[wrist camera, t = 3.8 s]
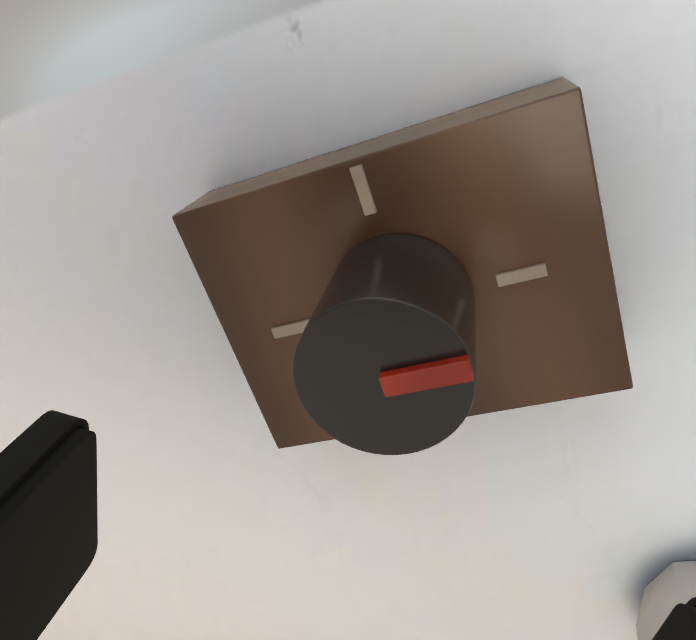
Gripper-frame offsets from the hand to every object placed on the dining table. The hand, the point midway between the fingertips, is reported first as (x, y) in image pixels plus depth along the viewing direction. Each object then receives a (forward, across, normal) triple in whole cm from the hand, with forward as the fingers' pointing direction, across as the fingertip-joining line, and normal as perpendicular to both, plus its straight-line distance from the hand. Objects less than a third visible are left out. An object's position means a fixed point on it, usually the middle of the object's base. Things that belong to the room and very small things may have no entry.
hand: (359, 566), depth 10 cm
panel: (+13, 0, 0) cm, 13 cm away
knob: (+10, 0, 0) cm, 10 cm away
